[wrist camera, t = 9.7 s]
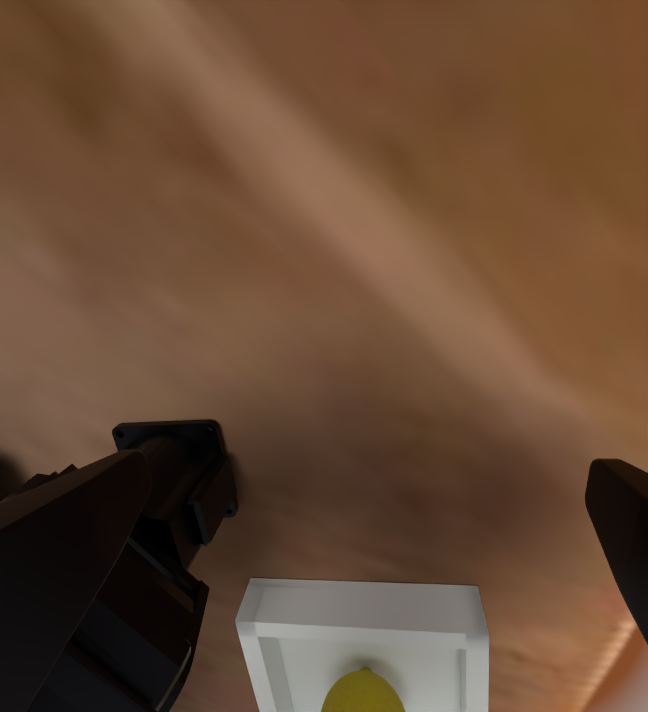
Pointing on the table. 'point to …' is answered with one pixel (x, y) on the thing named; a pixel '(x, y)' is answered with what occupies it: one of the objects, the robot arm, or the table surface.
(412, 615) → the dish
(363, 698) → the lemon
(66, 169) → the table surface
